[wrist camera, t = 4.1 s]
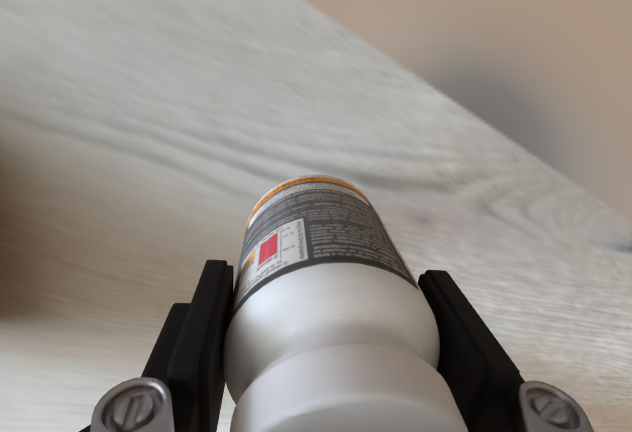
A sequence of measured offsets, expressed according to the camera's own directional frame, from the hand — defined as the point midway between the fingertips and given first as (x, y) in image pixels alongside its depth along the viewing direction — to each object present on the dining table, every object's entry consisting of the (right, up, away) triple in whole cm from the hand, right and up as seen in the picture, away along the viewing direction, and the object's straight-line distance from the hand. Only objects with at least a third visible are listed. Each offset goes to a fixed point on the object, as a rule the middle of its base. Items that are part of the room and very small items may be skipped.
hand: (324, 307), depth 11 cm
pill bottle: (0, +2, +5) cm, 5 cm away
